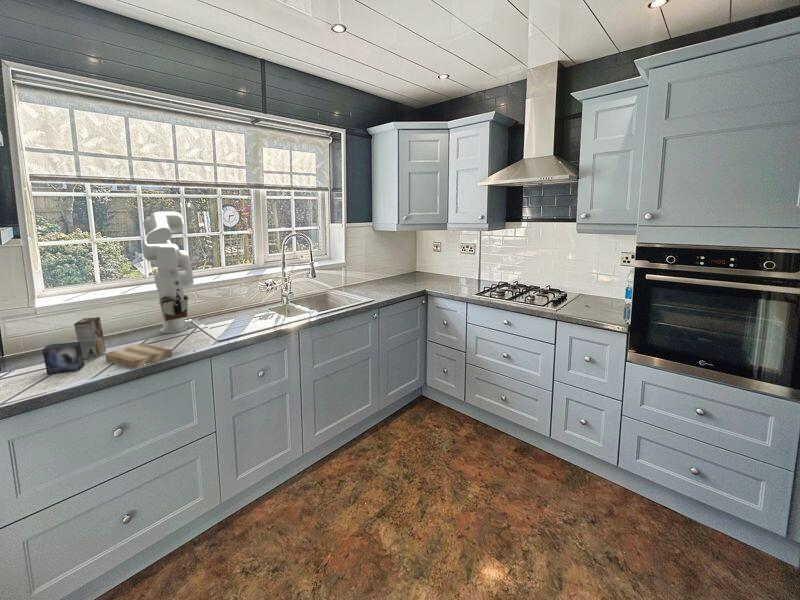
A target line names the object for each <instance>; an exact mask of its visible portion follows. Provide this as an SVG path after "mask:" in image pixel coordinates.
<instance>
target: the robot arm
mask: <svg viewBox="0 0 800 600" xmlns="http://www.w3.org/2000/svg"><path fill="white" fill-rule="evenodd" d="M184 223H185V222H184V217H183V216H182V214H181V213H179V212H177V211H156V212H153V213H151V214H150V216H149V217H145V218H144V220H143V228H144V231H145V233H146V234H145V236H143V238H142V241H141V248H142V249H141V250H142V255H143V258H144V259H145V260H147V261H149V262H155V263H154V264H155V266H156V267H157V270H158V272H156V273H155V275H154V277H153V278H154V282H155V283H154V284H155V286H156V290H157V294H158V299H159V301H160V298H162V297H164V298H168V299H173V302H174V305H175V306H174V312H175V314H180V313H182V308H181V304H182V301H183V299H184V298H183V297H184V295H185V294H184V288H191V287H192V286H193V285H194V275H193V268H192V264H191V258H190V254H189V253H188V251H186V250H183V249H181V250H180V247H179V246H178V245H177V244H175V243H172V242H171V239H172V236H173V234H175V233H176V234H177V233H181V232H182V231H183V229H184V225H185V224H184ZM176 297H177V298H176ZM176 300H177V302H176ZM159 307H160V313H161V321H162V328H160V329H159V330H160V333H163V334H172V333H173V334H174V333H180V332H184V331H186V330H188V324H192V323H193V319H191V318H190V319H184V318H180V319H176V320H171V321H165V319H164V315H163V310H162V306H161V305H160V304H159Z"/></svg>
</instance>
